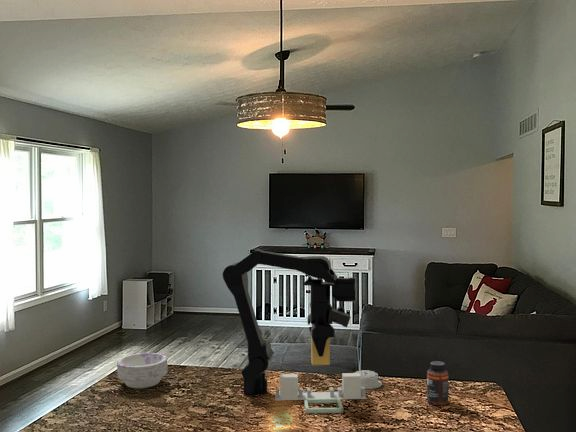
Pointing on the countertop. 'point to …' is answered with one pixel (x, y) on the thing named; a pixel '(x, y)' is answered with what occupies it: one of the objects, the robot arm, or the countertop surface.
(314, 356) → the block
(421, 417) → the countertop surface
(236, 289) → the robot arm
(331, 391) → the block
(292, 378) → the block
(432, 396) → the supplement bottle
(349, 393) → the block
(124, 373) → the paper bowls
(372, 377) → the mechanical component
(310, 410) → the tray
